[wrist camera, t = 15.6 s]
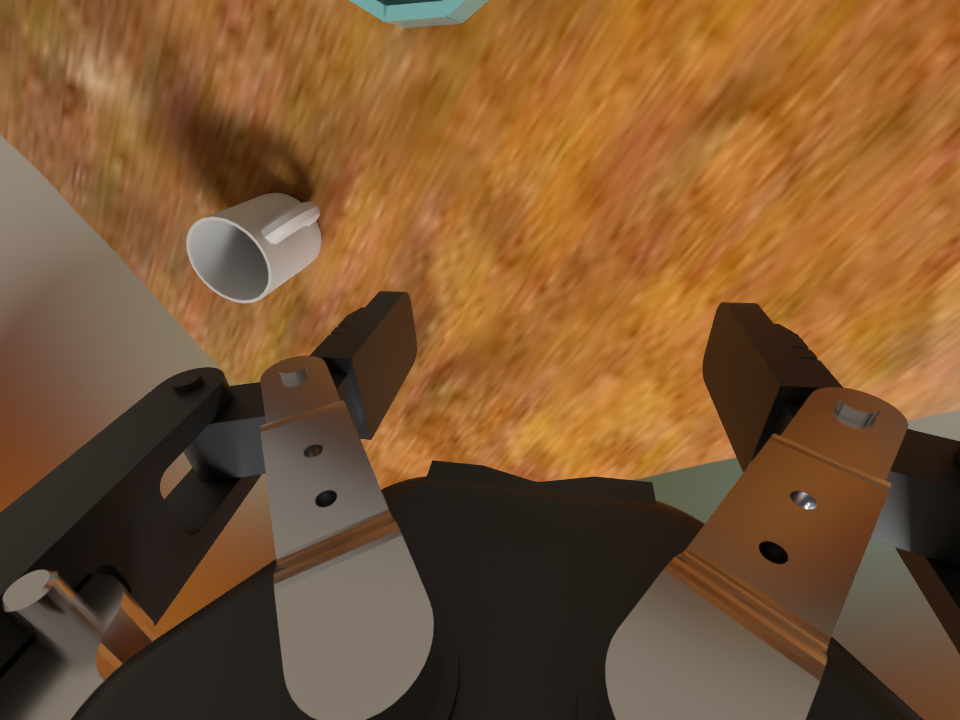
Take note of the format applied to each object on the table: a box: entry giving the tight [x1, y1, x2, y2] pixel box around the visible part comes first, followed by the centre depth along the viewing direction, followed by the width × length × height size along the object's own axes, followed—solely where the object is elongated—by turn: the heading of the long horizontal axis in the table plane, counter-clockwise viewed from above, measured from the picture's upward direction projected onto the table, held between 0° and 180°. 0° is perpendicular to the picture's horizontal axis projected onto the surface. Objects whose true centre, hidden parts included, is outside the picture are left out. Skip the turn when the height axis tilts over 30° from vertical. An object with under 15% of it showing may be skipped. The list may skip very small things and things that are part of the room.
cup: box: [186, 193, 322, 303], centre depth 38 cm, size 7×10×9 cm
